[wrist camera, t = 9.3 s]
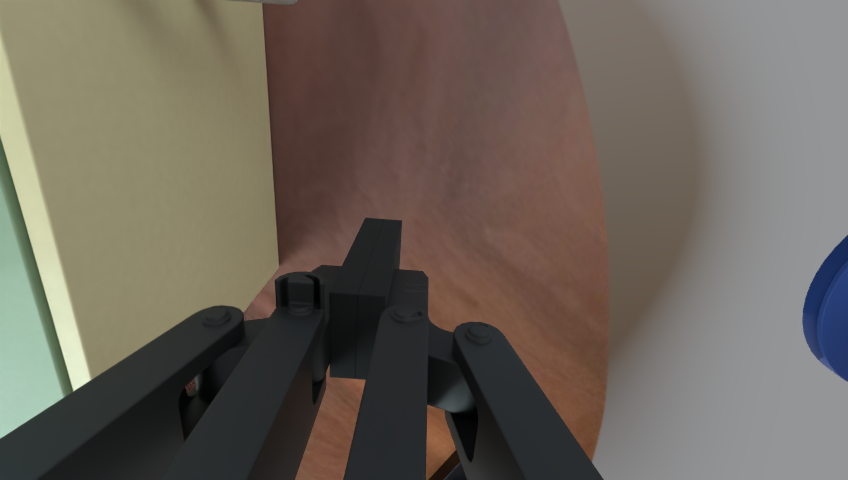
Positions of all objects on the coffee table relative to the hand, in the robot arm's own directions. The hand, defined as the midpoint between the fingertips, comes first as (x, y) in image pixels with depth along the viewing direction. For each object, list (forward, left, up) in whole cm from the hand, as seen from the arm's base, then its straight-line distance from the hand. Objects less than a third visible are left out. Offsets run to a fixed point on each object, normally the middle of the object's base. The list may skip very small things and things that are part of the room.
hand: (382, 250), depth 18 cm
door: (+4, -9, -22) cm, 24 cm away
